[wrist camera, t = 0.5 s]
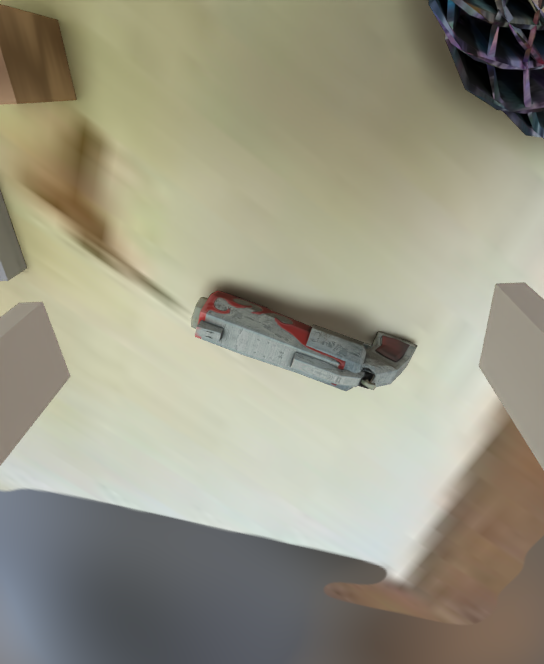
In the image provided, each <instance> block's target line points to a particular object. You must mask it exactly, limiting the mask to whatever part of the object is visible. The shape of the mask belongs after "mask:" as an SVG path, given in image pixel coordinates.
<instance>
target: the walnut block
mask: <svg viewBox="0 0 544 664" xmlns="http://www.w3.org/2000/svg"><path fill="white" fill-rule="evenodd" d="M68 100H76V95H75V91H74V87H73V83H72V78H71V74H70V70H69V65H68V61H67V57H66V53H65V48H64V44H63V40H62V36H61V31H60V27H59V23H58V20H56V19H53V18H49V17H45V16H42V15H38V14H34V13H31V12H27V11H23V10H20V9H16V8H12V7H9V6H5V5H1V4H0V104H19V103H36V102H52V101H68Z"/></svg>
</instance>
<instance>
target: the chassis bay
mask: <svg viewBox="0 0 544 664" xmlns="http://www.w3.org/2000/svg"><path fill="white" fill-rule="evenodd" d="M26 268H27V267H26V264H25V261H24V258H23V255H22V252H21V249H20V247H19V244H18V241H17V238H16V235H15V232H14V229H13V226H12V223H11V220H10V217H9V214H8V212H7V209H6V206H5V203H4V200H3V197H2V194H1V191H0V281H8V280H10V279H11V278H13V277H14V276H16V275H17V274H19V273H20V272H22V271H23V270H25V269H26Z"/></svg>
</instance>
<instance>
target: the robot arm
mask: <svg viewBox="0 0 544 664" xmlns="http://www.w3.org/2000/svg"><path fill="white" fill-rule="evenodd" d="M479 367H480V369H481V371H482V372H483V374H484V375H485V377H486V379H487V380H488V382H489V383H490V385H491V387H492V388H493V390H494V391H495V393H496V395H497V396H498V398H499V399H500V401H501V403H502V404H503V406H504V407H505V409H506V411H507V412H508V414H509V415H510V417H511V419H512V420H513V422H514V424H515V425H516V427H517V428H518V430H519V432H520V433H521V435H522V436H523V438H524V440H525V441H526V443H527V444H528V446H529V448H530V449H531V451H532V452H533V454H534V456H535V457H536V459H537V460H538V462H539V464H540V465H541V467H542V468H543V470H544V299H543V298H541V297H540V296H539V295H538V294H537V293H536V292H535V291H534V290H533V289H531V288H530V287H529V286H528V285H527V284H526V283H500V284H495V289H494V294H493V299H492V304H491V309H490V314H489V319H488V324H487V329H486V333H485V338H484V343H483V348H482V353H481V358H480V363H479ZM69 378H70V373H69V371H68V368H67V365H66V363H65V360H64V357H63V355H62V352H61V349H60V347H59V344H58V341H57V339H56V336H55V333H54V331H53V328H52V325H51V323H50V320H49V317H48V314H47V312H46V309H45V306H44V304H43V302H26V303H18V304H17V305H15V306H14V307H13V308H11V309H10V310H9V311H8V312H6V313H5V314H4V315H3V316H1V317H0V465H1V464H2V463H3V462H4V460H5V459H6V458H7V456H8V455H9V454H10V453H11V451H12V450H13V449H14V448H15V446H16V445H17V444H18V442H19V441H20V440H21V439H22V437H23V436H24V435H25V434H26V432H27V431H28V430H29V428H30V427H31V426H32V425H33V423H34V422H35V421H36V420H37V418H38V417H39V416H40V414H41V413H42V412H43V411H44V409H45V408H46V407H47V406H48V404H49V403H50V402H51V400H52V399H53V398H54V397H55V395H56V394H57V393H58V392H59V390H60V389H61V388H62V386H63V385H64V384H65V383H66V381H67V380H68V379H69Z"/></svg>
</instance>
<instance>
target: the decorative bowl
mask: <svg viewBox="0 0 544 664" xmlns="http://www.w3.org/2000/svg"><path fill="white" fill-rule="evenodd" d="M429 6H430V8H431V9H432V11H433V13H434V14H435V16H436V18H437V20H438V21H439V23H440V25H441V27H442V28H443V30H444V32H445V34H446V37H445V40H446V43H447V45H448V48H449V50H450V53H451V55H452V58H453V60H454V63H455V65H456V68H457V70H458V73H459V75H460V78H461V80H462V83H463V85H464V88H465V89H466V90H467V91H469V92H470V93H472V94H473V95H475V96H477V97H478V98H480V99H481V100H483V101H484V102H486V103H487V104H489V105H490V106H492V107H494V108H495V109H497V110H501V111H503V112H504V113H505V114H506V115H507V116H508V117H509V118H510V119H511V120H512V121H513V122H514V123H515V124H516V125H517V127H518V128H519V129H520V130H521V131H522V132H523V133H524V134H525V135H528V136H535V137H542V138H543V139H544V0H429Z"/></svg>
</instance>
